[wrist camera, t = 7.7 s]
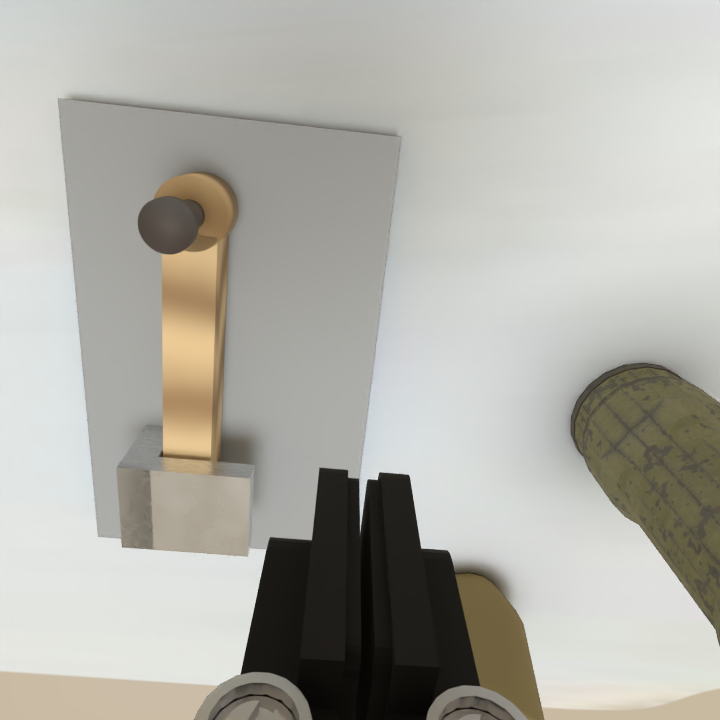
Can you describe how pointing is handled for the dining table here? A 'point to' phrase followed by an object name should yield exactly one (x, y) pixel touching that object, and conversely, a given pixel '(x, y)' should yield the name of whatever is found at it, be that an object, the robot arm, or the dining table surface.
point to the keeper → (183, 501)
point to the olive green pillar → (659, 467)
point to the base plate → (234, 292)
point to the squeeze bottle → (499, 644)
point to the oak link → (192, 306)
